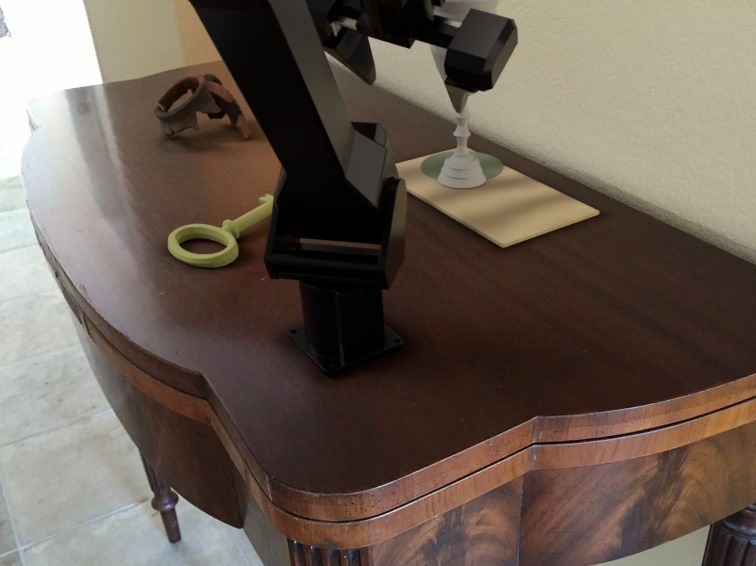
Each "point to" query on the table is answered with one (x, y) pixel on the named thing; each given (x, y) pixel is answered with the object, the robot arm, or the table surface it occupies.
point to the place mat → (494, 199)
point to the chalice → (462, 164)
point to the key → (217, 236)
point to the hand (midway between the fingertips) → (416, 95)
